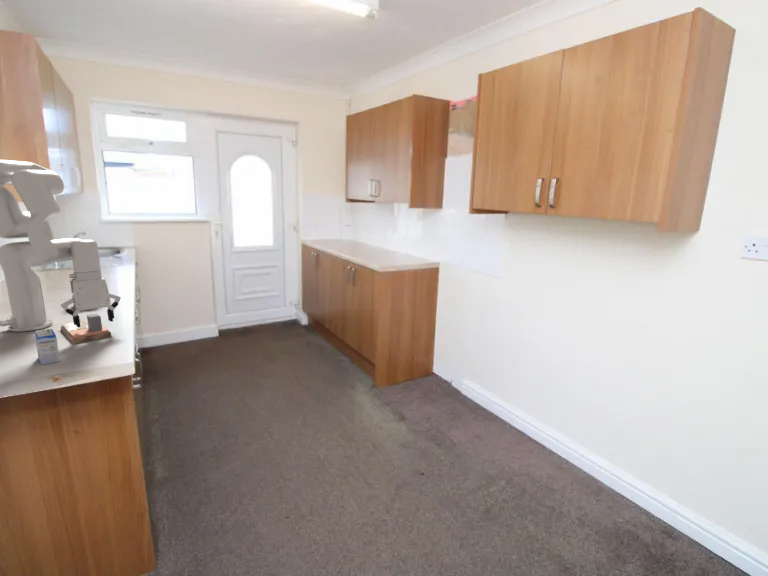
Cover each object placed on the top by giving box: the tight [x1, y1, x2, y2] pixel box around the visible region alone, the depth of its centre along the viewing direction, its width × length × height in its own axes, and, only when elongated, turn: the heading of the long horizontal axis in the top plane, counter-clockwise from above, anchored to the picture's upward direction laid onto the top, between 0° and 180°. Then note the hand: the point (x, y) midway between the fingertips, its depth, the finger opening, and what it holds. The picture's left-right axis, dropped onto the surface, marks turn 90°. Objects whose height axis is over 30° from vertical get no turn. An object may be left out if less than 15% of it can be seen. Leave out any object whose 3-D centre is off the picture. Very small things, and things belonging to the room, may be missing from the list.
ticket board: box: [60, 319, 112, 345], centre depth 149 cm, size 11×20×2 cm, turn 47°
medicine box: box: [34, 328, 61, 366], centre depth 124 cm, size 8×4×9 cm, turn 45°
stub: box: [69, 313, 109, 338], centre depth 144 cm, size 10×7×6 cm
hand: (94, 323), depth 146 cm, fingers open, 9 cm apart
